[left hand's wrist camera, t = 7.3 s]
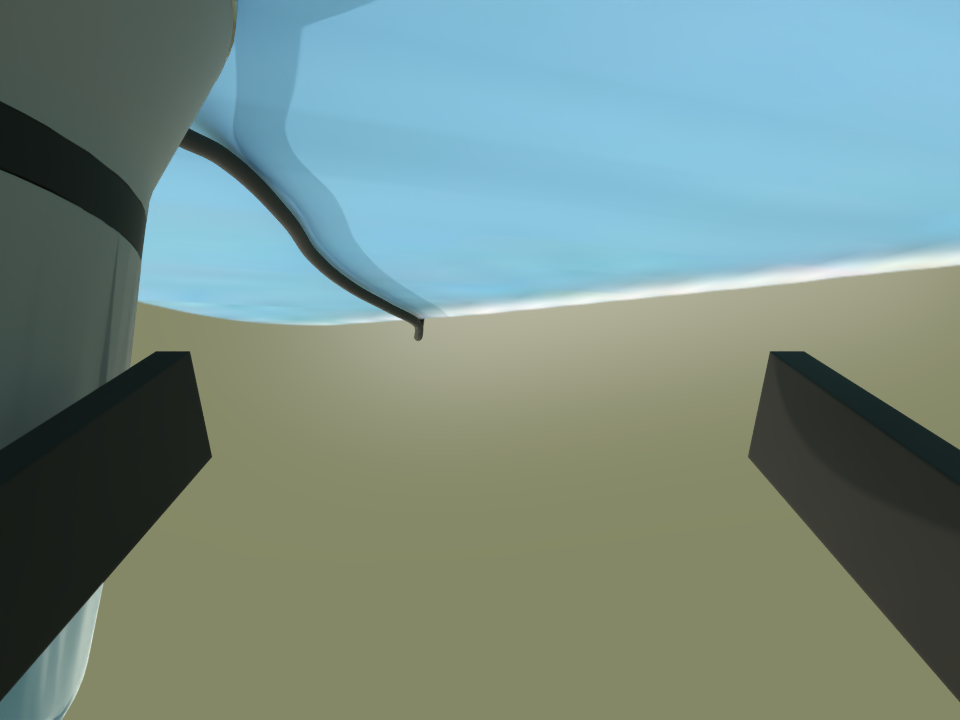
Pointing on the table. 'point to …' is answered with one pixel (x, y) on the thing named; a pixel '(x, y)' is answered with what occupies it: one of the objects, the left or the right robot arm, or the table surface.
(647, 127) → the table surface
